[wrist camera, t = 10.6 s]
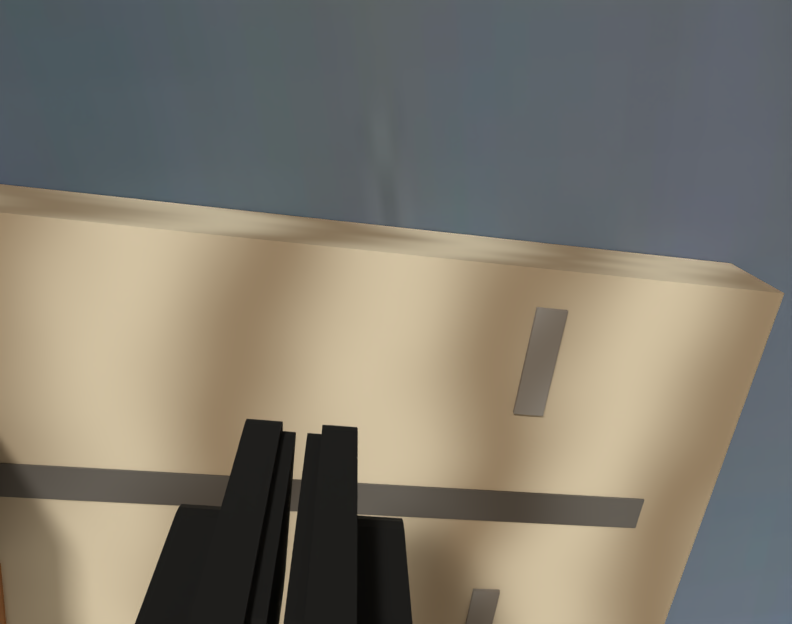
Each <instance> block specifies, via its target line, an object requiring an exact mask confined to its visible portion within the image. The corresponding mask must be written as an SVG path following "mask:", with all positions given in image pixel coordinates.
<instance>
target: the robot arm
mask: <svg viewBox="0 0 792 624" xmlns="http://www.w3.org/2000/svg"><path fill="white" fill-rule="evenodd" d="M295 442H296V432H288V431H283V421H271V420H258V419H246V421H245V424H244V428H243V431H242V435H241V438H240V442H239V445H238V449H237V452H236V456H235V459H234V463H233V466H232V470H231V474H230V477H229V481H228V484H227V488H226V491H225V495H224V498H223V502H222V505H221V506H207V505H191V504H181V505H180V506H179V507H178V510H177V512H176V514H175V516H174V519H173V522H172V525H171V527H170V530H169V533H168V535H167V538H166V541H165V543H164V546H163V549H162V552H161V554H160V557H159V560H158V562H157V565H156V568H155V570H154V573H153V576H152V579H151V581H150V584H149V587H148V589H147V592H146V595H145V597H144V600H143V603H142V606H141V608H140V611H139V614H138V616H137V619H136V622H135V624H279V621H280V613H281V606H282V598H283V590H284V582H285V572H286V559H287V546H288V533H289V520H290V507H291V494H292V481H293V468H294V455H295ZM357 504H358V428H357V427H349V426H336V425H323V424H322V434H315V433H307V440H306V448H305V456H304V463H303V471H302V479H301V487H300V495H299V503H298V511H297V519H296V527H295V535H294V543H293V551H292V559H291V567H290V575H289V583H288V591H287V599H286V607H285V615H284V623H283V624H413V622H412V611H411V599H410V588H409V576H408V565H407V553H406V542H405V530H404V523H403V520H402V518H391V517H376V516H360V515H357Z"/></svg>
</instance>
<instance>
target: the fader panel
mask: <svg viewBox="0 0 792 624" xmlns="http://www.w3.org/2000/svg"><path fill="white" fill-rule="evenodd" d="M783 295H784V293H783V292H781V291H779V290H777V289H775V288H774V287H772V286H770V285H768V284H767V283H765V282H763V281H761V280H759V279H758V278H756V277H754V276H752V275H751V274H749V273H747V272H745V271H743V270H742V269H740V268H738V267H736V266H735V265H733V264H731V263H723V262H713V261H704V260H695V259H686V258H677V257H667V256H658V255H649V254H640V253H630V252H621V251H612V250H603V249H593V248H584V247H575V246H566V245H557V244H547V243H538V242H529V241H520V240H510V239H501V238H492V237H483V236H473V235H464V234H455V233H446V232H437V231H427V230H418V229H409V228H400V227H390V226H381V225H372V224H363V223H354V222H344V221H335V220H326V219H317V218H307V217H298V216H289V215H280V214H270V213H261V212H252V211H243V210H234V209H224V208H215V207H206V206H197V205H187V204H178V203H169V202H160V201H151V200H141V199H132V198H123V197H114V196H104V195H95V194H86V193H77V192H67V191H58V190H49V189H40V188H31V187H21V186H12V185H3V184H0V624H135V622H136V619H137V616H138V614H139V611H140V608H141V606H142V603H143V600H144V597H145V595H146V592H147V589H148V587H149V584H150V581H151V579H152V576H153V573H154V570H155V568H156V565H157V562H158V560H159V557H160V554H161V552H162V549H163V546H164V543H165V541H166V538H167V535H168V533H169V530H170V527H171V525H172V522H173V519H174V516H175V514H176V512H177V510H178V507H179V506H180V505H181V504H191V505H207V506H221V505H222V502H223V498H224V495H225V491H226V488H227V484H228V481H229V477H230V474H231V470H232V466H233V463H234V459H235V456H236V452H237V449H238V445H239V442H240V438H241V435H242V431H243V428H244V424H245V421H246V419H258V420H271V421H283V431H288V432H296V442H295V455H294V468H293V481H292V494H291V507H290V520H289V533H288V546H287V559H286V572H285V582H284V590H283V598H282V606H281V613H280V621H279V624H283V623H284V615H285V607H286V599H287V591H288V583H289V575H290V567H291V559H292V551H293V543H294V535H295V527H296V519H297V511H298V503H299V495H300V487H301V479H302V471H303V463H304V456H305V448H306V440H307V433H315V434H322V424H323V425H336V426H349V427H357V428H358V504H357V515H360V516H376V517H391V518H402V520H403V523H404V530H405V542H406V553H407V565H408V576H409V588H410V599H411V611H412V622H413V624H664V623H665V620H666V618H667V615H668V612H669V609H670V607H671V604H672V601H673V598H674V596H675V593H676V590H677V587H678V585H679V582H680V579H681V576H682V574H683V571H684V568H685V565H686V563H687V560H688V557H689V554H690V552H691V549H692V546H693V543H694V541H695V538H696V535H697V532H698V529H699V527H700V524H701V521H702V518H703V516H704V513H705V510H706V507H707V505H708V502H709V499H710V496H711V494H712V491H713V488H714V485H715V483H716V480H717V477H718V474H719V472H720V469H721V466H722V463H723V461H724V458H725V455H726V452H727V450H728V447H729V444H730V441H731V439H732V436H733V433H734V430H735V428H736V425H737V422H738V419H739V417H740V414H741V411H742V408H743V406H744V403H745V400H746V397H747V395H748V392H749V389H750V386H751V384H752V381H753V378H754V375H755V372H756V370H757V367H758V364H759V361H760V359H761V356H762V353H763V350H764V348H765V345H766V342H767V339H768V337H769V334H770V331H771V328H772V326H773V323H774V320H775V317H776V315H777V312H778V309H779V306H780V304H781V301H782V298H783Z"/></svg>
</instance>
